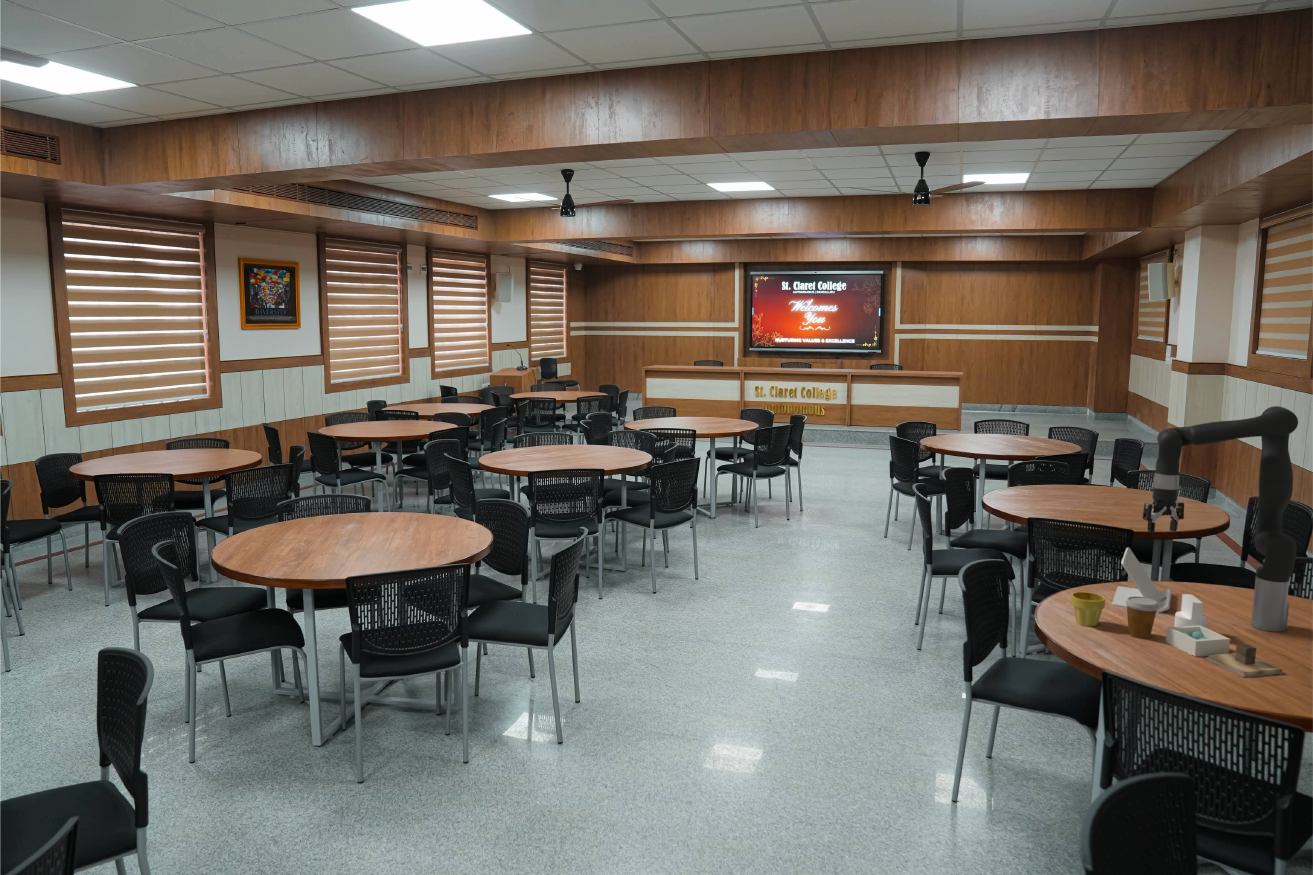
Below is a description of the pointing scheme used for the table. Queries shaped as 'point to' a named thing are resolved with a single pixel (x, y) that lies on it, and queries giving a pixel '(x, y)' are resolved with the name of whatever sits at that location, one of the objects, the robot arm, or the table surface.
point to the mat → (1239, 673)
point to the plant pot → (1087, 607)
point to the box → (1197, 641)
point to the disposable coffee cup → (1141, 616)
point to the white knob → (1190, 612)
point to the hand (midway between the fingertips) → (1162, 531)
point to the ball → (1197, 635)
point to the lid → (1245, 661)
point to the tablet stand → (1140, 585)
